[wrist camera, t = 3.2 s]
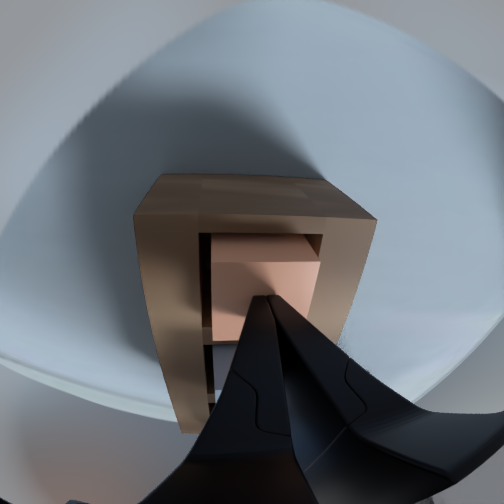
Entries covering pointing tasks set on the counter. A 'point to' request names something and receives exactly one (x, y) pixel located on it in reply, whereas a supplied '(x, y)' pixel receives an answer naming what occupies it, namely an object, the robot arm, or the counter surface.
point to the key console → (199, 263)
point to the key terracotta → (258, 275)
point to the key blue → (221, 365)
